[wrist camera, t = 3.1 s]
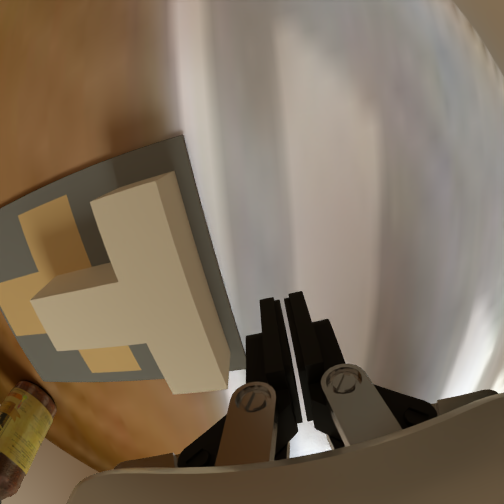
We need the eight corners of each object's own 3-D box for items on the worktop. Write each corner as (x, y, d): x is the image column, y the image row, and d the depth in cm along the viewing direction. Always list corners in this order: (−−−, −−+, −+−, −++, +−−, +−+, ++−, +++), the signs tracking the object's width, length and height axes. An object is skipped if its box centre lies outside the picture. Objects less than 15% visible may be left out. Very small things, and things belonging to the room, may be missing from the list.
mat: (183, 135, 18) (181, 135, 17) (248, 365, 24) (249, 368, 24) (-32, 226, 19) (-34, 227, 19) (44, 379, 26) (43, 381, 25)
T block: (174, 170, 18) (155, 180, 14) (230, 352, 23) (227, 389, 19) (34, 219, 19) (3, 236, 15) (102, 365, 24) (87, 396, 20)
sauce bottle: (25, 370, 26) (-52, 499, 7) (66, 406, 27) (6, 541, 9) (12, 387, 27) (-52, 497, 9) (48, 418, 29) (-4, 533, 10)
